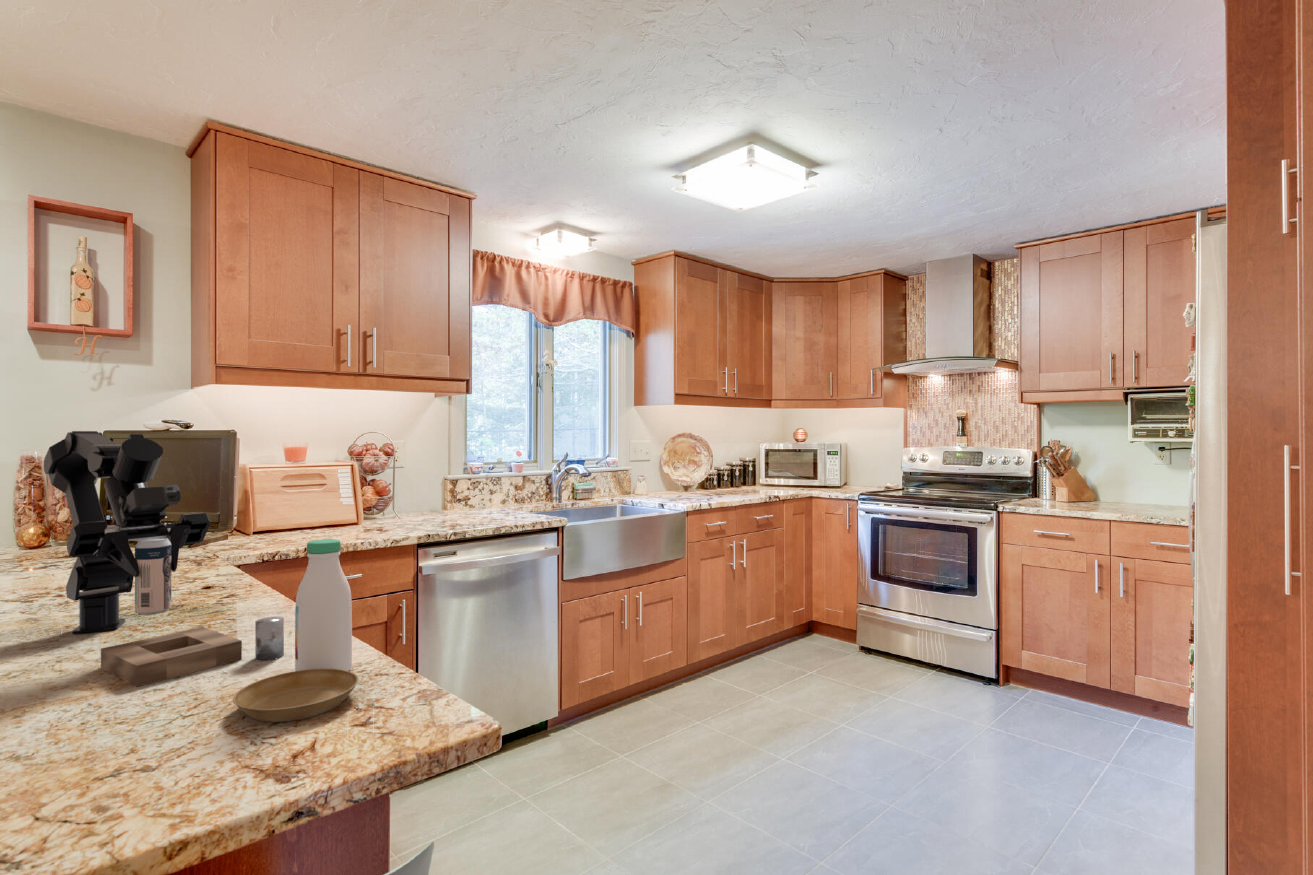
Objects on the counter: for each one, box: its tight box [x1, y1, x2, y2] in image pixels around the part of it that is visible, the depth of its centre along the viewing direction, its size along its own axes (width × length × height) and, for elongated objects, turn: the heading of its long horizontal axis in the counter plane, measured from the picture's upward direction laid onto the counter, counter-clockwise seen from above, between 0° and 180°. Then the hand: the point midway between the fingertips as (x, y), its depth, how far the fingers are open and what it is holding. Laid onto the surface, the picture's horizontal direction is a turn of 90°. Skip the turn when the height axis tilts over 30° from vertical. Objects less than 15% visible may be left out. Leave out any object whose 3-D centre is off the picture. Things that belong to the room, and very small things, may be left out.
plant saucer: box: [232, 669, 360, 723], centre depth 88 cm, size 15×15×3 cm
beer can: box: [134, 537, 172, 616], centre depth 109 cm, size 5×5×12 cm
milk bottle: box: [294, 538, 353, 671], centre depth 100 cm, size 8×8×20 cm
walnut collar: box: [100, 626, 243, 687], centre depth 104 cm, size 14×14×3 cm
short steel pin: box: [254, 616, 285, 662], centre depth 108 cm, size 4×4×6 cm
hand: (156, 572), depth 108 cm, fingers closed on beer can, 5 cm apart
